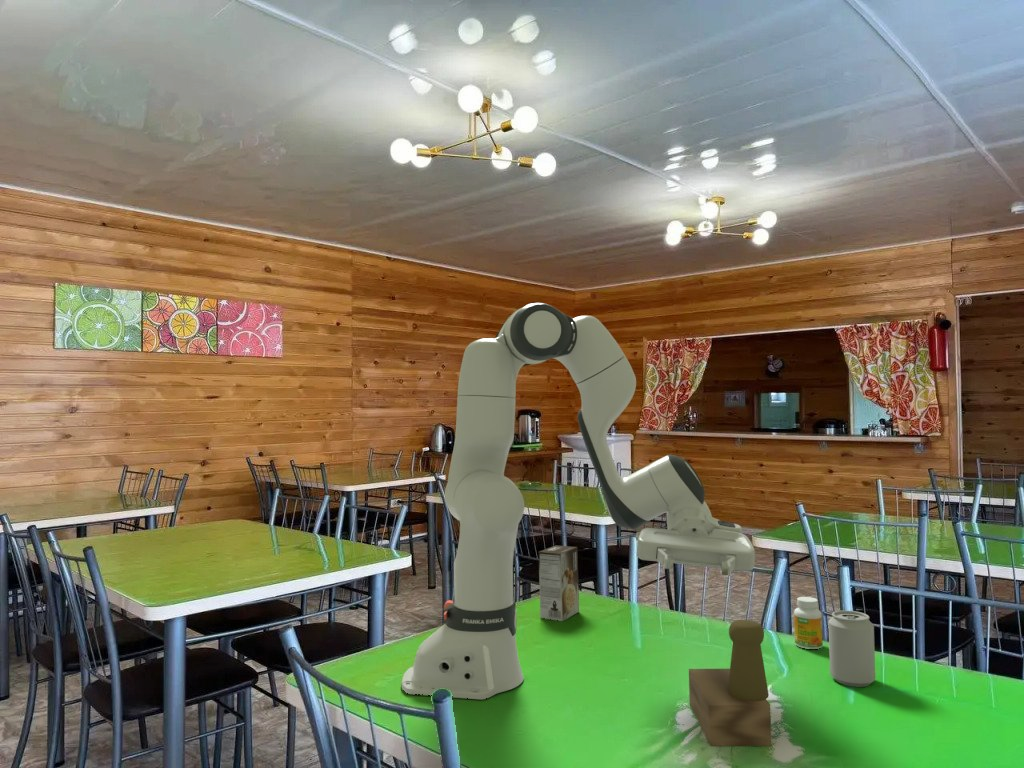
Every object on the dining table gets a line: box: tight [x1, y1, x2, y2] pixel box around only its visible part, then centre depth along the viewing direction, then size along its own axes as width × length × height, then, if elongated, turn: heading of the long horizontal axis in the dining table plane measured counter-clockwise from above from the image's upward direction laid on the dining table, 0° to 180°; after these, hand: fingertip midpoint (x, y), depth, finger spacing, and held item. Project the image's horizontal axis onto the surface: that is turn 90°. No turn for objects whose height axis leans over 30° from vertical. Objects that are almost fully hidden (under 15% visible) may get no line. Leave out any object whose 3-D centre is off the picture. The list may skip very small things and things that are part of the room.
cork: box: [728, 619, 769, 701], centre depth 113 cm, size 6×6×11 cm
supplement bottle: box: [793, 596, 824, 650], centre depth 152 cm, size 5×5×10 cm
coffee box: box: [538, 545, 580, 622], centre depth 178 cm, size 9×6×16 cm
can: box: [827, 610, 876, 688], centre depth 133 cm, size 8×8×12 cm
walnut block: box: [688, 668, 772, 747], centre depth 116 cm, size 9×15×6 cm, turn 178°
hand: (697, 568), depth 123 cm, fingers open, 8 cm apart
